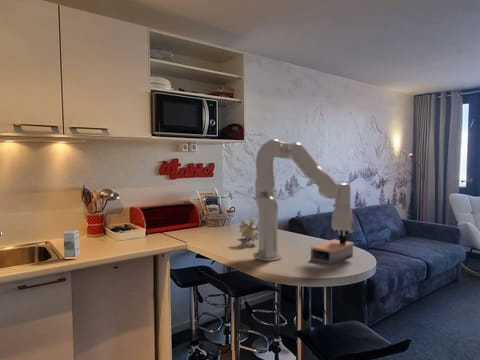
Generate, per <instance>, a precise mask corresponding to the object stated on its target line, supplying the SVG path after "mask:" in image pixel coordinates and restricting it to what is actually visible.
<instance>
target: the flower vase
mask: <svg viewBox="0 0 480 360" xmlns="http://www.w3.org/2000/svg"><path fill="white" fill-rule="evenodd" d="M246 216H247V218H248V220H249V223H246V221H245V220H243V219H241V224H240V225H238V228H239V233H241V235H240V236H241V237H242V238H243V237H244V238H246V240H247V241H248V240H249V241H248V242H247V243H245V244H244V245H245V246H244V247H246V246H248V248H249V247H250V248H251V247H252V246H253V247H255V246H257V244H255V243H254V242H255V241H259V223H258V219H255V217H254V216H253V215H252V216H251V217H250V215H246ZM254 224H257V225H256V226H255V225H254ZM251 240H252V241H251Z"/></svg>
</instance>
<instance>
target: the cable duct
mask: <svg viewBox="0 0 480 360" xmlns="http://www.w3.org/2000/svg"><path fill="white" fill-rule="evenodd" d="M353 252H354V245H351V246H349V247H346V248H343V249H341V250H338V251H336V252H333V253H329V258H326V259H321V255H322V254H325V253H328V252H324V251H319V250H314V249H311V248H310V260H311V261H315V262H320V263H325V264H329V265H332V264H335V263H336V262H339V261H342V260H344V259H346V258H349V257H350V255H351V256H353V255H354V253H353ZM352 254H353V255H352Z"/></svg>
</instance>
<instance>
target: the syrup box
mask: <svg viewBox="0 0 480 360" xmlns="http://www.w3.org/2000/svg"><path fill="white" fill-rule="evenodd" d="M62 233H63V251H64V258H65V257H77V256H78V255H80V256H81V250H80V249H81V247H80V230H77V229H76V230H75V229H74V230H71V229H70V230H69V229H68V230H65V231H64V232H62Z"/></svg>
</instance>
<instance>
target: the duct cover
mask: <svg viewBox="0 0 480 360" xmlns="http://www.w3.org/2000/svg"><path fill="white" fill-rule="evenodd" d="M351 245H353V246H354V245H355V242H353V241H348V240H346V243H344V244H342V243H340V241H339V239H335V238H333V239H330V240H327V241H324V242H320V243H318V244H315V245H312V246H310V250H311V249H314V250H319V251H324V252H329V253H333V252H336V251H338V250H341V249H343V248H346V247H349V246H351Z"/></svg>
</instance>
